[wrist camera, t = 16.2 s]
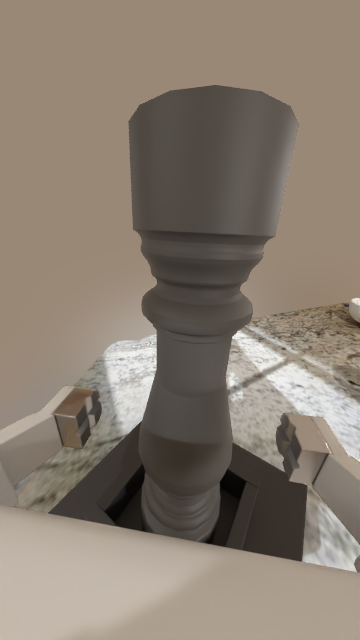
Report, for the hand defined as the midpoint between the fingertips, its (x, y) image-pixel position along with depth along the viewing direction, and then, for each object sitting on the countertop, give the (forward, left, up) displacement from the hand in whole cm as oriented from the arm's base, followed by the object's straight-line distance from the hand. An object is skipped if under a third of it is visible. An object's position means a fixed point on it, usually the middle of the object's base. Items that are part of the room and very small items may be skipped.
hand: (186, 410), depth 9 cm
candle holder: (-1, +2, -15) cm, 15 cm away
